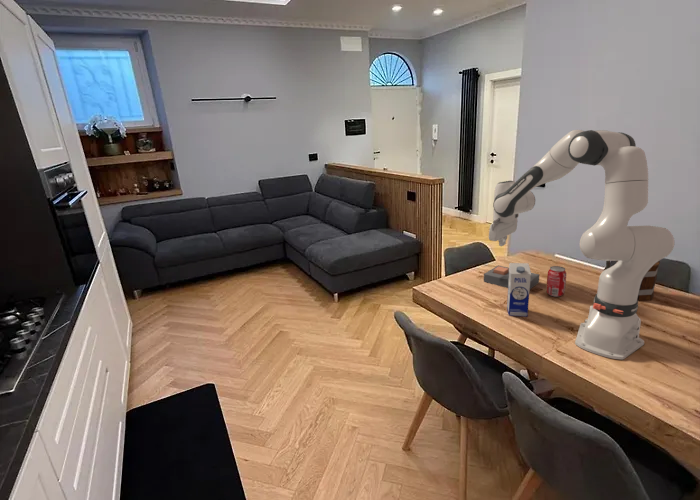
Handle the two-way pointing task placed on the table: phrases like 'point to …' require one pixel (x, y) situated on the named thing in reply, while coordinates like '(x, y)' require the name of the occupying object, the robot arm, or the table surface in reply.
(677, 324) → the table surface
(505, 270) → the brick key
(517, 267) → the milk carton
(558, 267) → the soda can
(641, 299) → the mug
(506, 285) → the console
